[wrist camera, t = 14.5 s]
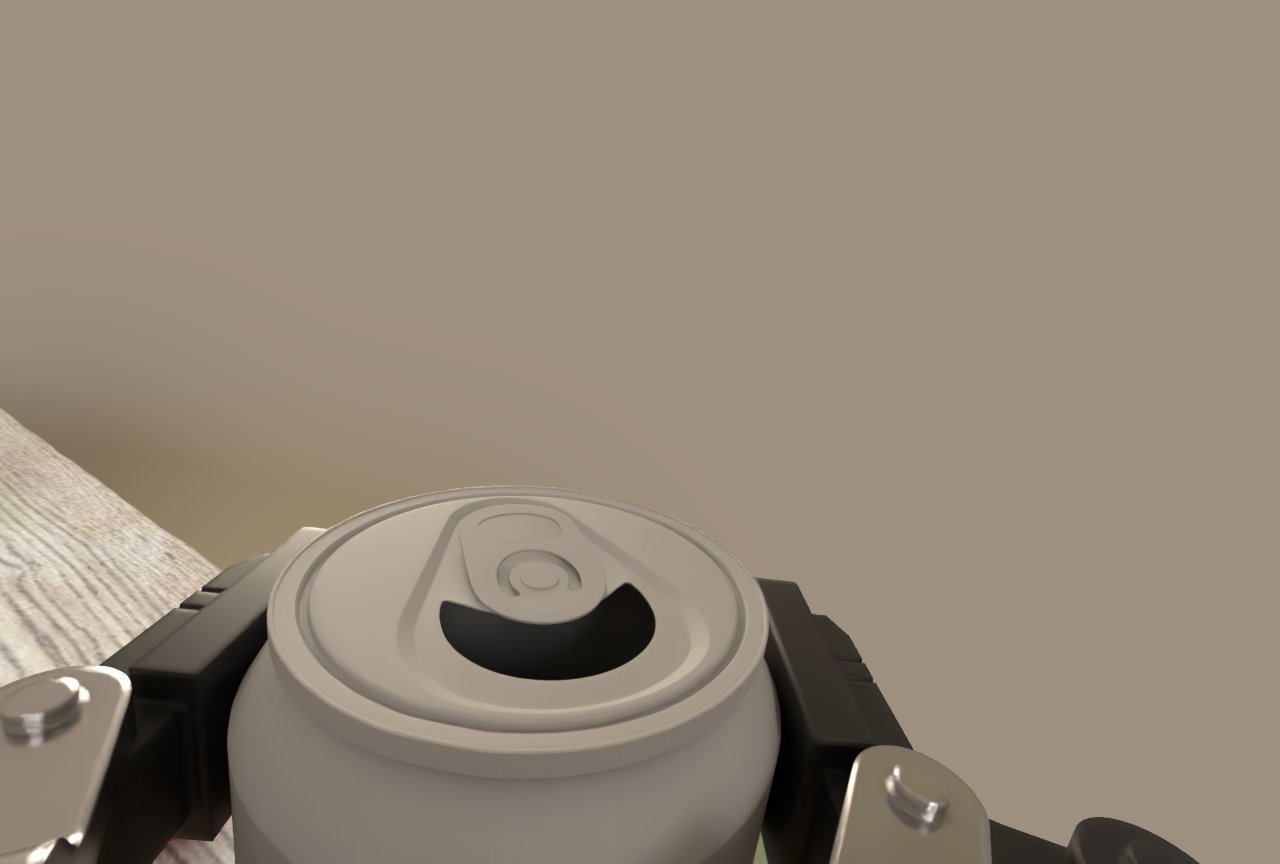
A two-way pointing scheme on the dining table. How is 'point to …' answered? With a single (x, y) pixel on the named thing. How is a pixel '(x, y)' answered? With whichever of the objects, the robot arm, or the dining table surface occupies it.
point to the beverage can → (507, 690)
